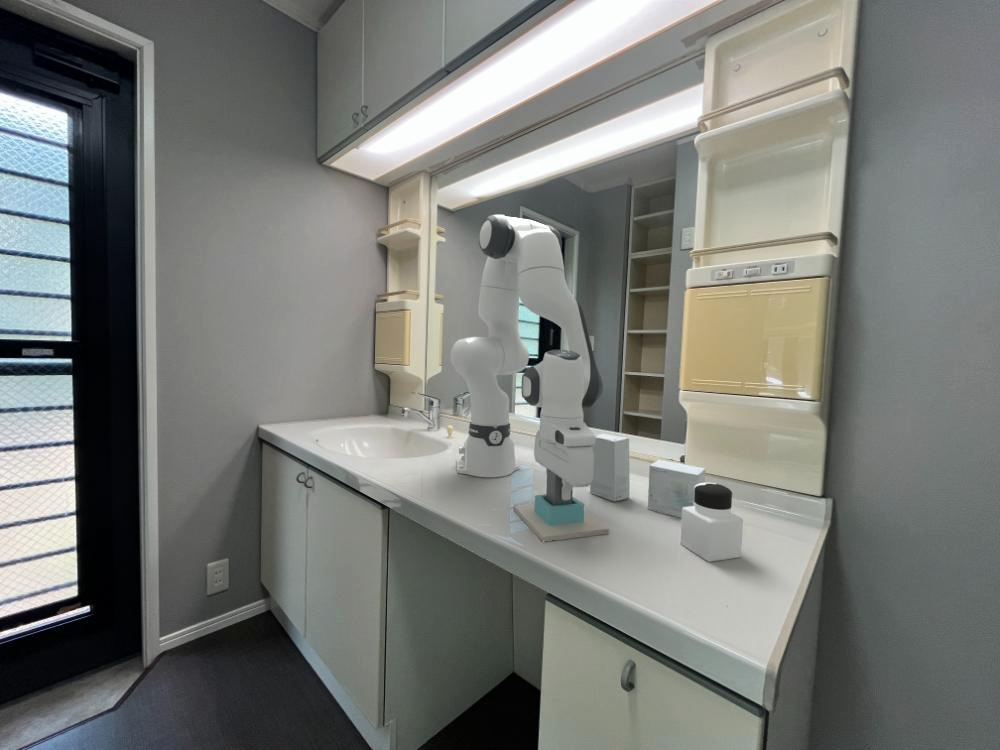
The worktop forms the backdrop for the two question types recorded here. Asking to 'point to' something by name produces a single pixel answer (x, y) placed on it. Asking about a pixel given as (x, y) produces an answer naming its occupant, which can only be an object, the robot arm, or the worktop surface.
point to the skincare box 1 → (611, 467)
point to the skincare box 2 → (672, 486)
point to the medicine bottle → (712, 524)
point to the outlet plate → (559, 520)
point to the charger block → (555, 490)
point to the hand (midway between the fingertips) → (559, 494)
